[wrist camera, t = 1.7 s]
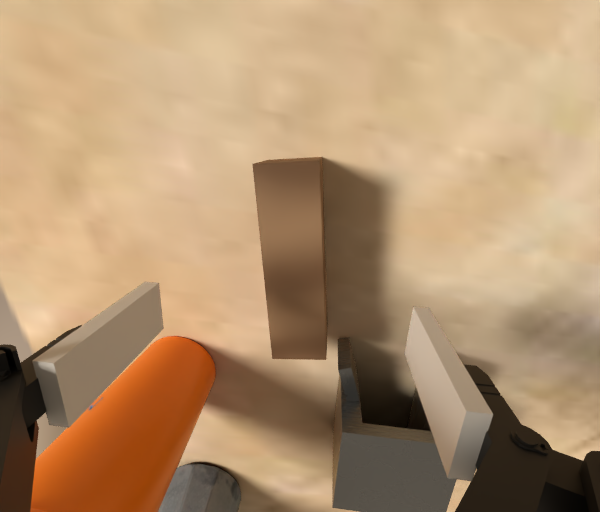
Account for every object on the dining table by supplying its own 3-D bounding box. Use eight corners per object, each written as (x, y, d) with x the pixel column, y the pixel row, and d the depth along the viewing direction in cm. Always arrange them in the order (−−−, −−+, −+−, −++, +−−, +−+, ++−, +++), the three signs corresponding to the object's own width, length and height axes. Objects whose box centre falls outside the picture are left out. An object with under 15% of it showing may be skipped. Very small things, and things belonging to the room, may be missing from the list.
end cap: (337, 336, 28) (339, 395, 21) (448, 347, 27) (485, 412, 21) (327, 431, 32) (326, 506, 25) (424, 443, 31) (449, 524, 24)
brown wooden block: (268, 159, 24) (252, 164, 19) (322, 156, 23) (319, 160, 19) (282, 322, 28) (272, 358, 24) (327, 323, 28) (326, 359, 23)
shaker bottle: (223, 330, 29) (20, 676, 10) (228, 406, 32) (78, 781, 13) (130, 323, 30) (-218, 632, 11) (144, 398, 33) (-111, 740, 14)
